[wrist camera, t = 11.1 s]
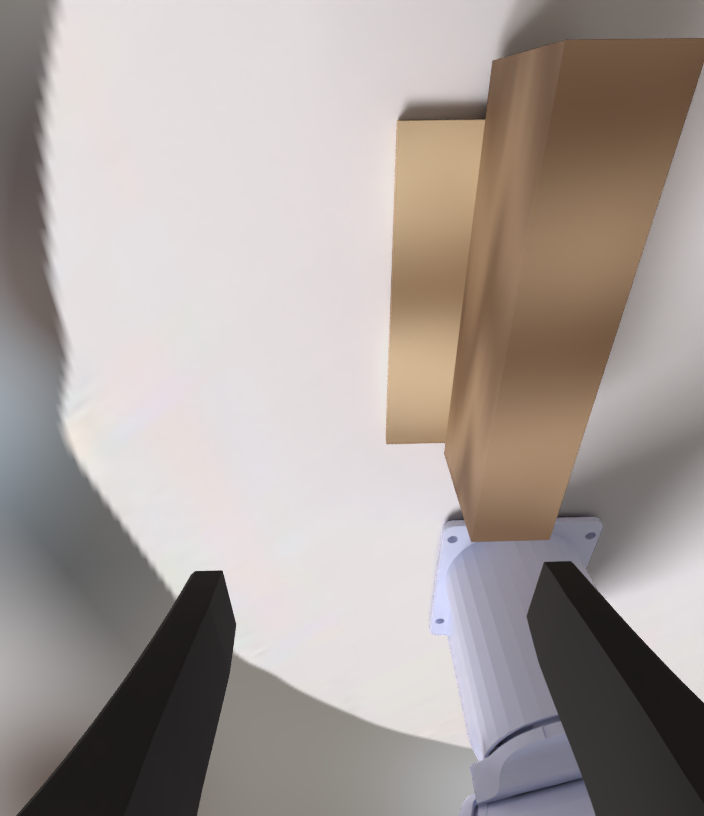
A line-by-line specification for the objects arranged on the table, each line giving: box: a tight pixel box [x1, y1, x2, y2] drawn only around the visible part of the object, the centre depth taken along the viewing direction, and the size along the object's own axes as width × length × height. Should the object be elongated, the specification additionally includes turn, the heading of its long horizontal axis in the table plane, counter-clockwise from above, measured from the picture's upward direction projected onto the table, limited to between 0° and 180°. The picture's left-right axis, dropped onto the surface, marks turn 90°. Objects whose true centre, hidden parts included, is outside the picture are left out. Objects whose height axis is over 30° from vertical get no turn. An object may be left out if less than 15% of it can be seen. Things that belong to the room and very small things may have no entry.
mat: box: [386, 119, 485, 444], centre depth 17 cm, size 12×8×1 cm, turn 1°
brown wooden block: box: [444, 38, 704, 542], centre depth 15 cm, size 14×3×5 cm, turn 1°
